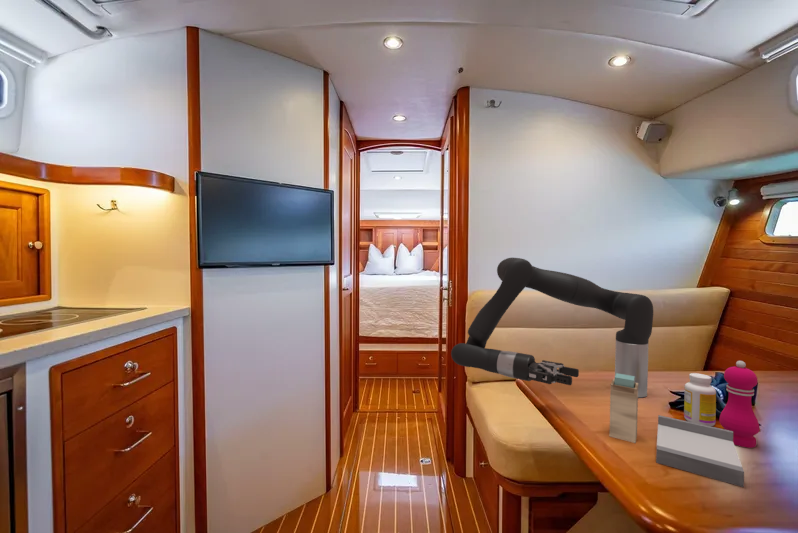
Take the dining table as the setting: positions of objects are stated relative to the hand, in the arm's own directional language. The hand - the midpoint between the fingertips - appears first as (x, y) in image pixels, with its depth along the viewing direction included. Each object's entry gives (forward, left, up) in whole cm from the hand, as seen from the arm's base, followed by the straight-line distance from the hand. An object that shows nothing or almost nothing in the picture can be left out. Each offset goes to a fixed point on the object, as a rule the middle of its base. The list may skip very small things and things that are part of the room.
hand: (575, 377), depth 98 cm
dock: (+2, +25, -13) cm, 28 cm away
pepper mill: (-14, +34, -13) cm, 39 cm away
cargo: (0, +11, -1) cm, 11 cm away
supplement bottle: (-22, +27, -13) cm, 38 cm away
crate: (0, +11, -13) cm, 17 cm away
